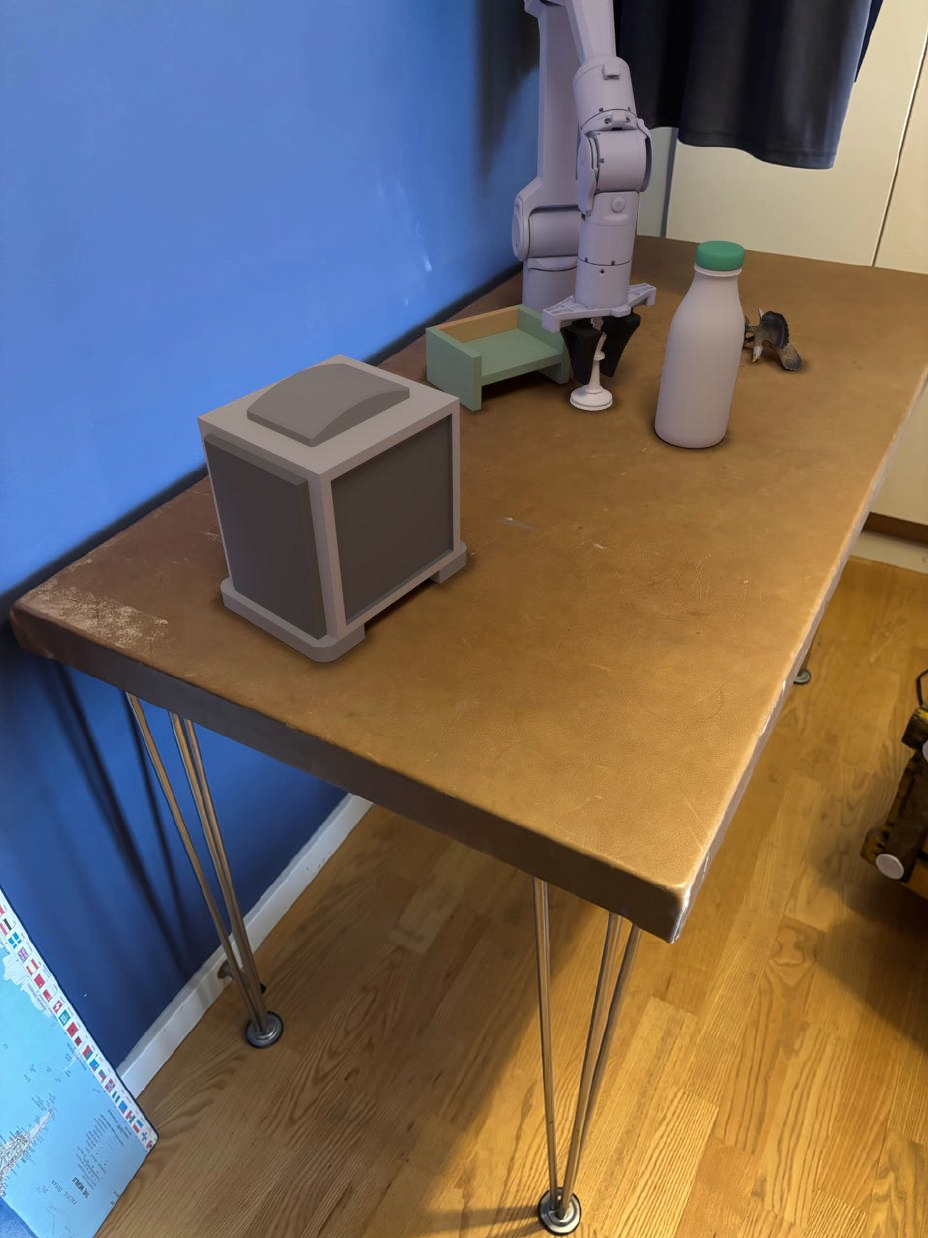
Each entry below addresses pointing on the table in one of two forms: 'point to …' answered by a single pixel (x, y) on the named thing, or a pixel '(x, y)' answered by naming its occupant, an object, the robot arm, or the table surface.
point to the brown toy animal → (772, 338)
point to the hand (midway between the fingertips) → (593, 377)
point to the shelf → (492, 352)
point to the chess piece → (593, 383)
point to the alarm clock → (334, 499)
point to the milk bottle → (703, 351)
